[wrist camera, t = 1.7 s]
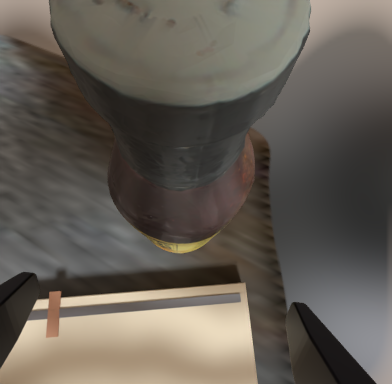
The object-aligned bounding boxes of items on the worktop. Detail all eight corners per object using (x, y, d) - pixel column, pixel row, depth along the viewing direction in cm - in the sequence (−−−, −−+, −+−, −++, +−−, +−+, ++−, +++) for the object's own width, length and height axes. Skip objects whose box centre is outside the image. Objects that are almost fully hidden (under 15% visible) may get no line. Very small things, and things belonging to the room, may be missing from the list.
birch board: (259, 432, 19) (265, 446, 17) (-8, 463, 18) (-27, 481, 16) (240, 276, 22) (244, 276, 20) (11, 294, 21) (-2, 296, 19)
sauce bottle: (133, 199, 23) (-91, -125, 4) (198, 173, 24) (247, -188, 5) (162, 271, 22) (-1, 249, 3) (230, 239, 23) (469, 59, 4)
